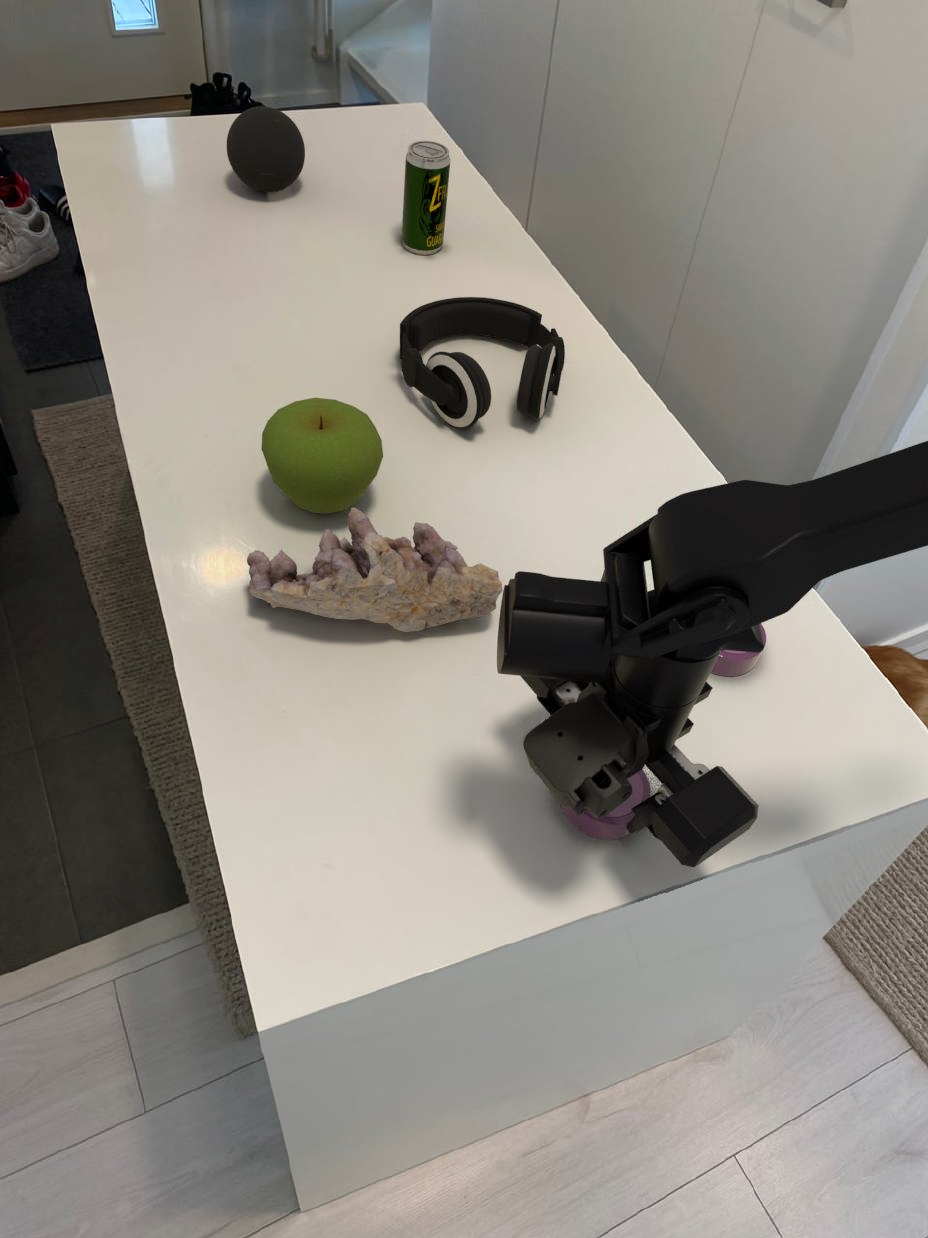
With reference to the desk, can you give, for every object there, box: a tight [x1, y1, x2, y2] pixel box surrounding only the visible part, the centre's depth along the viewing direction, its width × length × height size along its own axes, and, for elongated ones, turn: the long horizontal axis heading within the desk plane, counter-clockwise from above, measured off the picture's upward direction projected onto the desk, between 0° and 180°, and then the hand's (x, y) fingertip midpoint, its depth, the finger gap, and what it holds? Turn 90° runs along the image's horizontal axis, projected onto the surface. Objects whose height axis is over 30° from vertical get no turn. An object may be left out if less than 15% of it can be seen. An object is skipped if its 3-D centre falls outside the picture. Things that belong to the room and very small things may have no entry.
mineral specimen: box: [246, 507, 503, 633], centre depth 78 cm, size 20×10×10 cm
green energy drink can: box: [401, 140, 451, 256], centre depth 116 cm, size 5×5×12 cm
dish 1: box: [560, 768, 652, 841], centre depth 70 cm, size 6×6×2 cm
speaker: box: [226, 106, 306, 193], centre depth 122 cm, size 10×10×10 cm
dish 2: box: [710, 623, 767, 677], centre depth 81 cm, size 6×6×2 cm
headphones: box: [399, 296, 566, 430], centre depth 100 cm, size 18×8×20 cm
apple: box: [261, 397, 384, 514], centre depth 85 cm, size 11×10×10 cm
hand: (604, 794), depth 70 cm, fingers closed on dish 1, 6 cm apart
